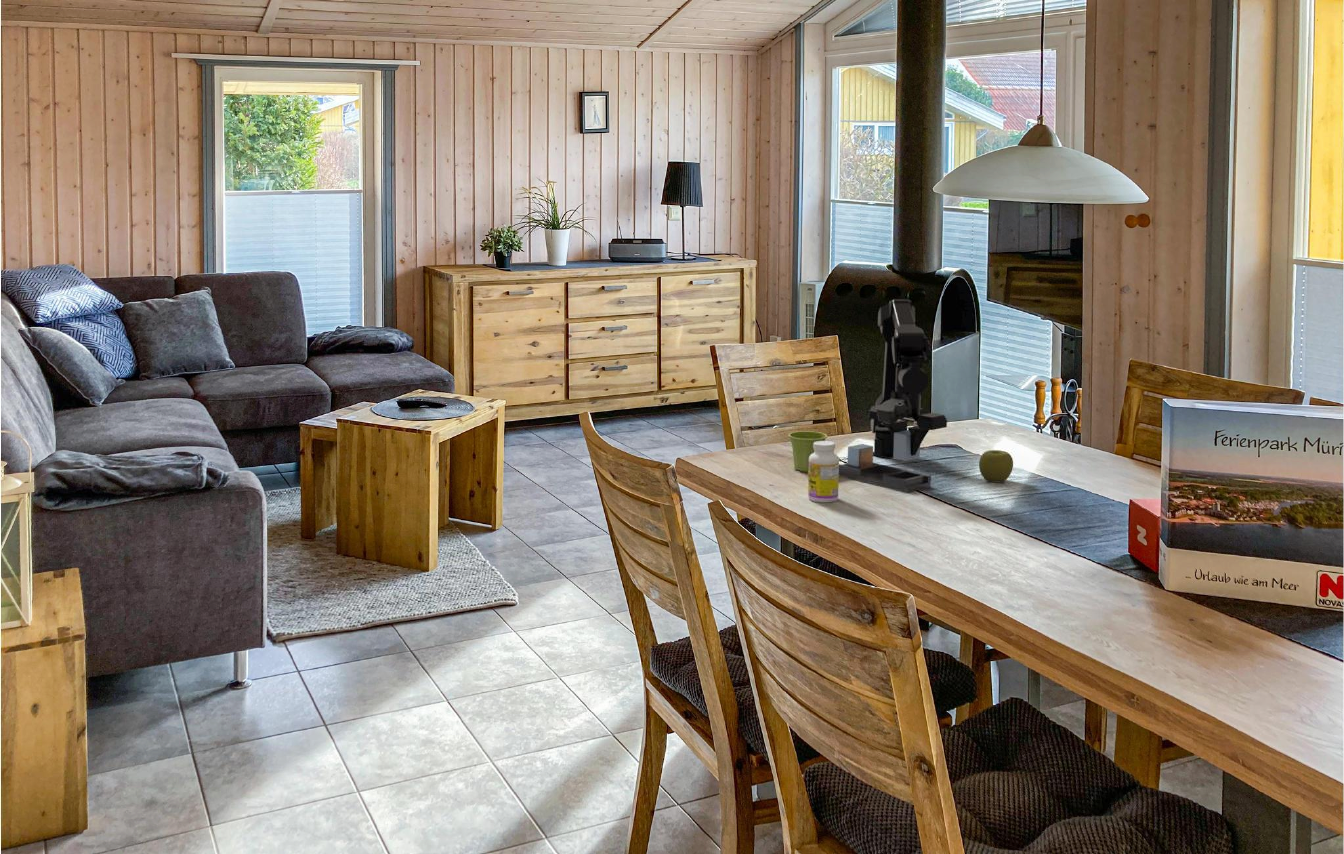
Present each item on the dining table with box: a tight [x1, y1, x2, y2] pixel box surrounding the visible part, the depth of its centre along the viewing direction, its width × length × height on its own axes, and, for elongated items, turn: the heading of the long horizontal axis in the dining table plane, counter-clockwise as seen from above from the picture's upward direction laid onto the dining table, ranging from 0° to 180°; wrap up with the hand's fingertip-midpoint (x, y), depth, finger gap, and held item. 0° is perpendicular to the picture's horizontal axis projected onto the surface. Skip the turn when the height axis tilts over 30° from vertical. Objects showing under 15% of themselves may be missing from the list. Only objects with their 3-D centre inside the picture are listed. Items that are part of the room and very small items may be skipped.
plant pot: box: [788, 430, 828, 473], centre depth 294 cm, size 9×9×9 cm
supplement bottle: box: [807, 440, 840, 504], centre depth 265 cm, size 7×7×13 cm
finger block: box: [893, 429, 921, 462], centre depth 275 cm, size 5×4×6 cm
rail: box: [839, 443, 932, 493], centre depth 281 cm, size 8×22×7 cm, turn 38°
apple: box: [978, 449, 1014, 483], centre depth 281 cm, size 8×8×7 cm
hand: (905, 453), depth 275 cm, fingers closed on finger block, 4 cm apart
